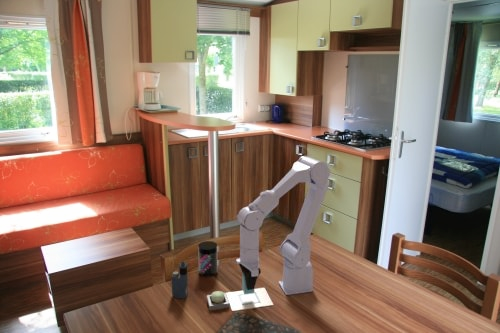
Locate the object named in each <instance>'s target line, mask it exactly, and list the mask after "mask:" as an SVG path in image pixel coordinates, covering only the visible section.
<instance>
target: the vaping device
mask: <svg viewBox="0 0 500 333" xmlns="http://www.w3.org/2000/svg"><path fill="white" fill-rule="evenodd" d="M178 269H179V270H178V271H177V270H176V271H173V272H172V275H171V277H170V278H171V295H172V297H173V298H176V299H177V298H178V299H186V298H187V297H188V296H189V295H188V293H189V292H188V280H189V278H188V264H187V263H186V262H185V261H181V263H180V264H179V267H178Z"/></svg>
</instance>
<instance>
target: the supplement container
mask: <svg viewBox="0 0 500 333" xmlns="http://www.w3.org/2000/svg"><path fill="white" fill-rule="evenodd" d="M197 251H198V252H197V253H198V272H199V274H200V275H202V276H204V277H212V276H215V275H216V274H217V273H218V270H219V269H218V244H217V242H215V241H210V240H209V241H207V240H206V241H202V242H200V243H198V245H197Z"/></svg>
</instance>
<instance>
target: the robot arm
mask: <svg viewBox="0 0 500 333" xmlns="http://www.w3.org/2000/svg"><path fill="white" fill-rule="evenodd" d="M330 175H331V170H330V167H329V166H328V164H327V163H326V162H324V161H320V160H318V159H316V158H313V157H311V156H309V155H303V156H300V157H299V159H298V160H297V161H295V162H294V163H293V165H292V168H291V169H290V170H289V171H288V172H287V173H286V174H285V176H284V177H282V178H281V180H280V181H278V183H277V184H276V185H275V186H274V187H273V188H272V189H271V190H270V189H269V190H267V189H266V190H264V191H261V192H260V193H259V196H258V197H256V199H254V201H253V202H251V203H249V204H248V206H246V207H243V208H241V209H240V210H239V212H238V214H237V215H236V220H237V222H239V258H236V260H235V262H236V264H237V265H239V267H240V270H241V273H242V272H243V274H244V276H245V280H246V287H247V290H252V289H255V287H256V283H257V279H258V277H259V276H260V275H261V272H262V270H261V267H259V265H260V257H259V255H260V254H259V251H260V249H259V248H260V247H259V245H260V243H259V242H260V238H259V237H260V228H261V227H262V225H263V222H264V220H265V218H266V217H267V216H268V215H269V214H270V213H271V212H272V211H273V210H274V209H275V208H276V207H277V206H278V205H279V202H280V198H282V197H283V196H284V195H285V194H287V192H289V191H290V190H291V189H292V188H294V187H295V186H296V185H298V184H299V183H306V184H307V186H308V191H307V193H306V196H305V198H304V201H303V203H302V206H301V209H300V212H299V215H298V217H297V219H296V220H297V221H296V223H295V225H294V228H293V231H292V232H291V233H289V234H287V235H286V236H285V239H284V241H283V242H282V243H281V244H280V247H279V253H280V255H281V256H282V261H283V262H282V263H283V264H282V280H279V281H278V285H279V286H280V287H281V289H282V290H283V293H285V294H284V295H287V296H290V295H296V294H304V293H311V292H314V289H313V284H314V283H313V281H314V269H313V265H312V263H311V261H310V259H311V251H312V244H311V241H310V237H311V234H312V230H313V229H314V226H315V223H316V220H317V218H318V215H319V213H320V210H321V207H322V205H323V202H324V199H325V196H326V194H327V191H328V188H329V177H330Z"/></svg>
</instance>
